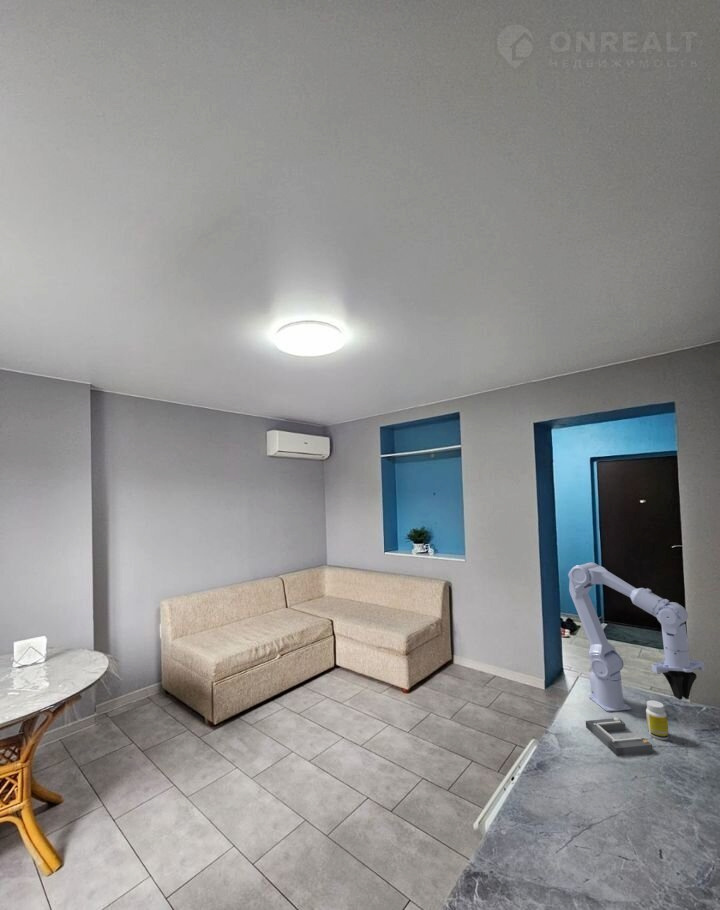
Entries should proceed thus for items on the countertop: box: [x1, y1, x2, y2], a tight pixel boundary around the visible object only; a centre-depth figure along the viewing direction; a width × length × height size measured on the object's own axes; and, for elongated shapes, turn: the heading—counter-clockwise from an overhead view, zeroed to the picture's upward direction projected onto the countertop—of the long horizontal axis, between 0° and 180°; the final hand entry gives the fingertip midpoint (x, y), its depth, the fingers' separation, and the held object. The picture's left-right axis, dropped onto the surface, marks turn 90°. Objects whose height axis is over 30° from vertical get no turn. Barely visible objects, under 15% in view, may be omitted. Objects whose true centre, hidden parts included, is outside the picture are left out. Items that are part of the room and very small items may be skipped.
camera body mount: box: [585, 716, 654, 756], centre depth 114 cm, size 13×10×2 cm
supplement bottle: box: [645, 700, 670, 741], centre depth 116 cm, size 5×5×8 cm
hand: (681, 697), depth 117 cm, fingers closed
